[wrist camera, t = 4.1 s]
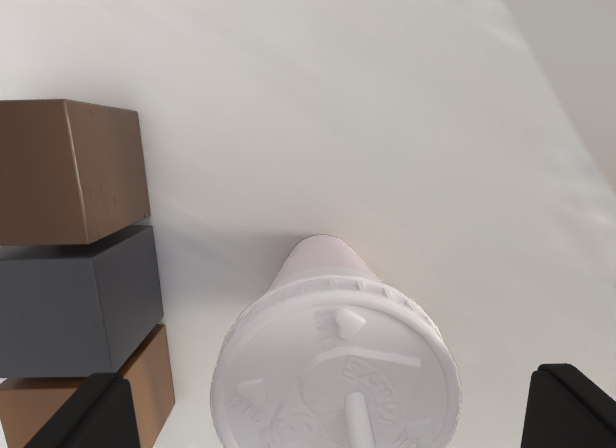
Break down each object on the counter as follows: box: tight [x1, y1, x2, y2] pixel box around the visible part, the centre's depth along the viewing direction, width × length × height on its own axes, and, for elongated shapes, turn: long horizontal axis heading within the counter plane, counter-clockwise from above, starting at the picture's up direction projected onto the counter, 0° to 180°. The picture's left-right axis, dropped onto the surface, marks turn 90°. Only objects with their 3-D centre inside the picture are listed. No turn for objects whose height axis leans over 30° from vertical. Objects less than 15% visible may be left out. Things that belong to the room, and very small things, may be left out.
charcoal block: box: [0, 226, 163, 378], centre depth 16 cm, size 5×5×5 cm
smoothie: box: [210, 235, 461, 448], centre depth 11 cm, size 6×6×14 cm
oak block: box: [0, 325, 175, 448], centre depth 17 cm, size 5×5×5 cm
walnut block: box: [0, 99, 150, 246], centre depth 14 cm, size 5×5×5 cm
